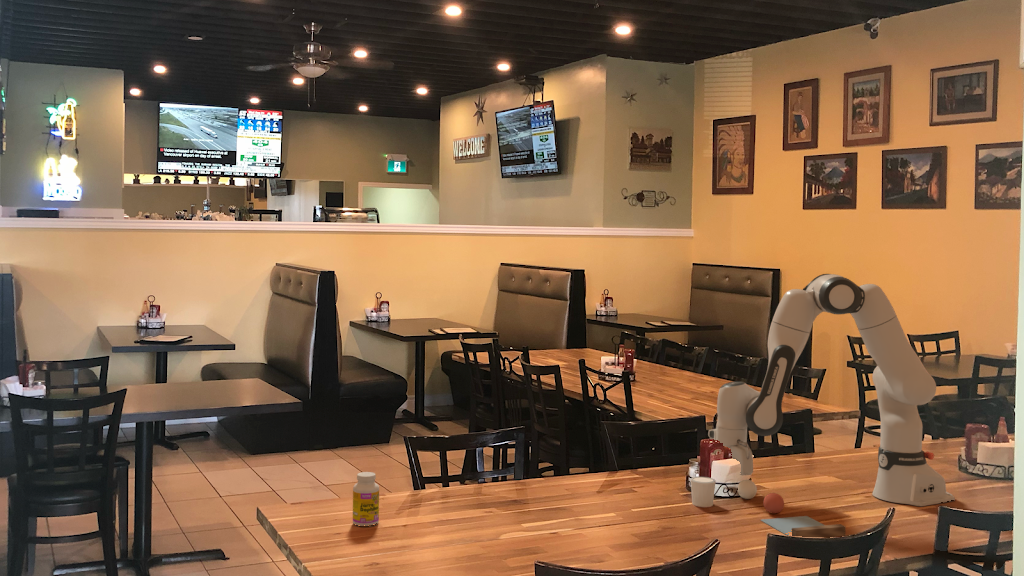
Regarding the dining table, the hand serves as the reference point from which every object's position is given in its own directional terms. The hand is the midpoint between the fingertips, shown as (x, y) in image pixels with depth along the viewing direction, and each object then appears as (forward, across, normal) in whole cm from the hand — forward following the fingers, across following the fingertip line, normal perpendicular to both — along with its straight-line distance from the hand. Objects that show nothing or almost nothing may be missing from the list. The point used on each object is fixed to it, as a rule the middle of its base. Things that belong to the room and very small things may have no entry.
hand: (729, 482), depth 269 cm
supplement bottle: (+3, -7, +108) cm, 108 cm away
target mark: (+2, -36, 0) cm, 36 cm away
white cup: (+2, -12, +15) cm, 19 cm away
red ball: (-1, -24, 0) cm, 24 cm away
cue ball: (-1, -10, 0) cm, 10 cm away
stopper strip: (+2, -44, 0) cm, 44 cm away
